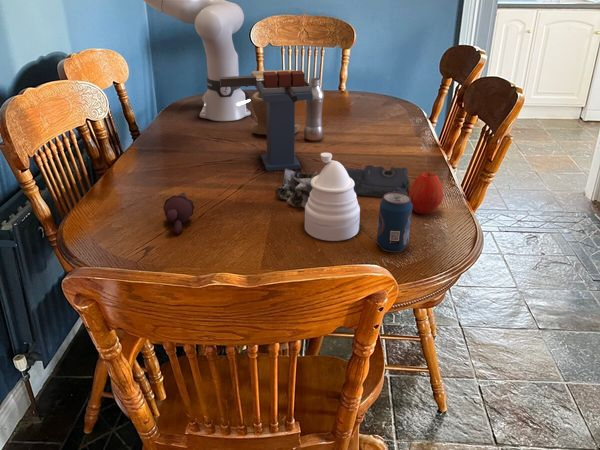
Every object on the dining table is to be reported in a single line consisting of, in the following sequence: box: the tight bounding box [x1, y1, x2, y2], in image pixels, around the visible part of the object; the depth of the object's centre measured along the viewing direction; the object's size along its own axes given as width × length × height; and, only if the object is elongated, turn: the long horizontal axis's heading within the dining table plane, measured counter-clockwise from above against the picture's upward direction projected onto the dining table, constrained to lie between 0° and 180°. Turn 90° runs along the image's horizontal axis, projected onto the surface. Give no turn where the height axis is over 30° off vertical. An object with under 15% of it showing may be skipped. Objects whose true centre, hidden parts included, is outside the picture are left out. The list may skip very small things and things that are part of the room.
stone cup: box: [251, 91, 301, 136], centre depth 189 cm, size 15×12×15 cm
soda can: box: [376, 192, 413, 253], centre depth 124 cm, size 7×7×12 cm
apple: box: [408, 171, 444, 216], centre depth 140 cm, size 8×8×11 cm
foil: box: [275, 169, 319, 208], centre depth 147 cm, size 12×11×15 cm
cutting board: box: [251, 69, 297, 79], centre depth 164 cm, size 10×13×1 cm
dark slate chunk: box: [345, 164, 410, 198], centre depth 156 cm, size 15×22×5 cm
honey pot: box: [304, 152, 361, 242], centre depth 130 cm, size 13×13×18 cm
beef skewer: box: [220, 70, 307, 88], centre depth 152 cm, size 4×23×4 cm, turn 102°
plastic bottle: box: [303, 77, 325, 141], centre depth 184 cm, size 6×7×20 cm
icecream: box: [162, 192, 195, 235], centre depth 135 cm, size 7×7×15 cm
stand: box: [250, 73, 313, 172], centre depth 164 cm, size 24×13×24 cm, turn 12°
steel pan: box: [257, 78, 312, 103], centre depth 150 cm, size 20×13×2 cm, turn 12°
